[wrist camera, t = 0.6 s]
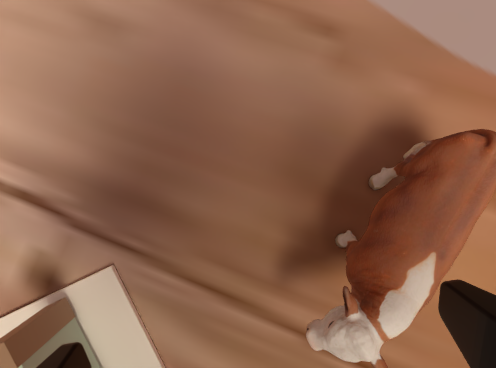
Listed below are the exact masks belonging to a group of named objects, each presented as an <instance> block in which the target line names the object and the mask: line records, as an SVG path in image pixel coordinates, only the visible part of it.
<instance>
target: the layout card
mask: <svg viewBox="0 0 496 368" xmlns="http://www.w3.org/2000/svg"><path fill="white" fill-rule="evenodd" d="M65 297H66V299H67V301H68V303H69V305H70V307H71V309H72V310H73V312H74V314H75V316H76V317H75V320H76V322H77V324H78V326H79V327H80V329H81V331H82V333H83V335H84V337H85V339H86V341H87V343H88V345H89V347H90V349H91V351H92V353H93V355H94V357H95V358H96V360H97V362H98V364H99V366H100V368H165V366H164V364H163V362H162V360H161V358H160V356H159V354H158V352H157V350H156V348H155V346H154V344H153V342H152V340H151V338H150V336H149V334H148V332H147V330H146V328H145V326H144V324H143V322H142V320H141V318H140V316H139V314H138V312H137V310H136V308H135V306H134V304H133V302H132V300H131V298H130V296H129V294H128V292H127V290H126V288H125V286H124V285H123V283H122V281H121V279H120V277H119V275H118V273H117V271H116V269H115V267H114V265H111V266H109V267H107V268H105V269H103V270H101V271H99V272H96V273H94V274H92V275H90V276H88V277H86V278H84V279H82V280H80V281H77V282H75V283H73V284H71V285H69V286H67V287H65V288H63V289H60V290H58V291H56V292H54V293H52V294H50V295H48V296H46V297H44V298H41V299H39V300H37V301H35V302H33V303H31V304H29V305H27V306H25V307H22V308H20V309H18V310H16V311H14V312H12V313H10V314H8V315H6V316H3V317H1V318H0V338H1V337H3V336H4V335H6V334H7V333H9V332H10V331H11V330H13V329H14V328H16V327H17V326H19V325H20V324H21V323H23V322H24V321H26V320H27V319H28V318H30V317H31V316H33V315H34V314H36V313H37V312H38V311H40V310H41V309H43V308H44V307H46V306H48V305H50V304H52V303H54V302H56V301H58V300H60V299H62V298H65Z"/></svg>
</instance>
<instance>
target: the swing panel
mask: <svg viewBox="0 0 496 368" xmlns="http://www.w3.org/2000/svg"><path fill="white" fill-rule="evenodd" d="M75 317H76V316H75V314H74V312H73V310H72V309H71V307H70V305H69V303H68V301H67V299H66V297H65V298H62V299H60V300H58V301H56V302H54V303H52V304H50V305H48V306H46V307H44V308H43V309H41V310H40V311H38V312H37V313H36V314H34V315H33V316H31V317H30V318H28V319H27V320H26V321H24V322H23V323H21V324H20V325H19V326H17V327H16V328H14V329H13V330H11V331H10V332H9V333H7V334H6V335H4V336H3V337H1V338H0V368H36V367H37V366H38V365H40V364H41V363H42V362H43V361H44V360H45V359H46V358H47V357H48V356H50V355H51V354H52V353H53V352H54V351H55V350H56V349H57V348H59V347H60V346H61V345H63V344H67V343H73V342H80V343H81V344H82V345H83V347H84V349H85V352H86V354H87V356H88V359H89V361H90V363H91V367H92V368H100V366H99V364H98V362H97V360H96V358H95V357H94V355H93V353H92V351H91V349H90V347H89V345H88V343H87V341H86V339H85V337H84V335H83V333H82V331H81V329H80V327H79V326H78V324H77V322H76V320H75Z"/></svg>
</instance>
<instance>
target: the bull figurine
mask: <svg viewBox="0 0 496 368" xmlns="http://www.w3.org/2000/svg"><path fill="white" fill-rule="evenodd" d="M403 158H404V159H405V160H403V161H402V162H400V163H398V164H397V165H396V166H395V167H393V168H382V169H381V172H380V173H378V174H376V175H373V176H371V177H370V179H369V186H370V187H371V188H372V189H373V190H378V189H381V188H382V187H384V186H385V185H386V184H387V183H388V182H390V181H391V179H393V178H395V177H397V176H405V180H404V181H403V182H402V183H401V184H399V185H398V186H397V187H395V188H393V189H392V190H390V191H389V192H388V193H386V194H385V195H384V196H383V197H382V198H381V199H380V200H379V202H378V203H377V205H376V206H375V208H374V210H373V212H372V214H371V216H370V220H369V225H368V228H367V230H366V232H365V233H364V235H363V236H362V238H361V240H360V241H357V240H356V237H355V236H354V235H353V234H352V232H351V231H350V230H347V232H346V233H344V234H339V235H338V236H337V237H336V239H335V242H336V244H337V246H338V247H340V248H344V247H346V252H347V256H346V262H347V265H346V274H347V278H348V280H349V282H350V284H351V286H352V292H351V293H350V291H349V289H348V287H346V286H344V287H343V297H344V302H345V304H344V305H345V306H338V307H335V308H333V309H331V310H330V311H329V313H328V314H327V315H325V317H324V318H323V319H322V320H319V319H317V320H313V321H312V322H310V323H309V324H308V326H307V332H306V337H307V340H308V342H309V344H310V346H311V347H312V349H314V350H316V351H319V350H322V349H324V350H326V351H328V352H330V353H331V354H333V355H335V356H336V357H338V358H340V359H342V360H344V361H349V362H359V361H367V362H370V363H371V364H372V365H373V367H374V368H388V367H387V365H386V363H385V361H384V359H383V358H382V357H381V355H380V353H379V351H380V348H381V346H382V344H383V343H384V342H386V341H388V340H391V339H392V338H394V337H396V336H398V335H399V334H400V333H401V332H403V331H404V330H405V329H407V328H408V326H409V325H410V324H411V322H412V321H413V319H414V317H415V316H416V315H417V313H418V312H419V311H420V310H421V309H422V308H423V307H424V306H425V305H426V304H427V303H428V302H429V301H430V300H431V299H432V297H433V295H434V294H435V292H436V290H437V288H438V286H439V284H440V282H441V280H442V278H443V277H444V276H445V274H446V273H447V272H448V271H449V269H450V267H451V266H452V264H453V263H454V261H455V259H456V258H457V256H458V255H459V253H460V251H461V250H462V248H463V246H464V244H465V242H466V241H467V239H468V237H469V235H470V233H471V231H472V229H473V227H474V225H475V223H476V222H477V220H478V218H479V217H480V215H481V214H482V212H483V211H484V209H485V208H486V206H487V204H488V203H489V201H490V199H491V197H492V196H493V194H494V192H495V190H496V132H494V131H491V130H485V129H478V130H470V131H465V132H460V133H456V134H453V135H449V136H446V137H443V138H440V139H436V140H431V141H424V142H421V143H418V144H416V145H414V146H413V147H412V148H411V149H410V150H409V151H408V152H406V153H405V154H404V155H403Z"/></svg>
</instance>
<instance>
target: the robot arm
mask: <svg viewBox="0 0 496 368" xmlns="http://www.w3.org/2000/svg"><path fill="white" fill-rule="evenodd" d="M438 308H439V313H440V316H441V318H442V320H443V322H444V323H445V325H446V327H447V328H448V330H449V332H450V334H451V335H452V337H453V339H454V340H455V342H456V344H457V346H458V347H459V349H460V351H461V352H462V354H463V356H464V358H465V359H466V361H467V363H468V365H469V366H470V368H496V295H494V294H492V293H489V292H487V291H485V290H482V289H480V288H478V287H476V286H473V285H471V284H469V283H467V282H464V281H462V280H451V281H445V282H443V283H442V284H441V287H440V296H439V306H438ZM36 368H92V367H91V363H90V361H89V359H88V356H87V354H86V352H85V349H84V347H83V345H82V344H81V343H80V342H73V343H67V344H63V345H61V346H60V347H59V348H57V349H56V350H55V351H54V352H53V353H52V354H51V355H50V356H48V357H47V358H46V359H45V360H44V361H43V362H42V363H41V364H40V365H38V366H37V367H36Z"/></svg>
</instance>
